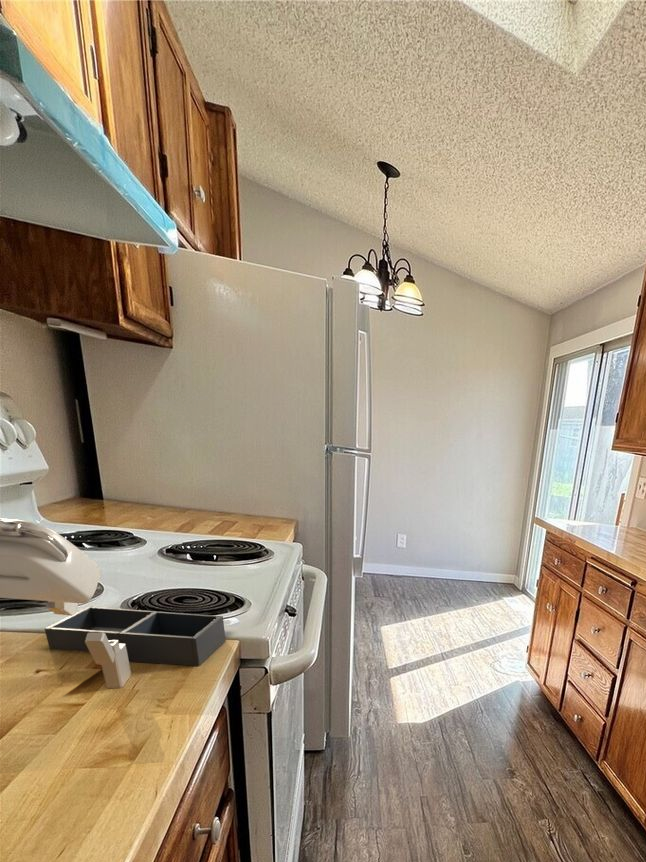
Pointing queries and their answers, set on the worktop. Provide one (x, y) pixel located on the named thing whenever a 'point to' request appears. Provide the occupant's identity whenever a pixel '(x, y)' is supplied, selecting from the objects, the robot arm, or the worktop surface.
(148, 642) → the sorter
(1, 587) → the robot arm
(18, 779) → the worktop surface
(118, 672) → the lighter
